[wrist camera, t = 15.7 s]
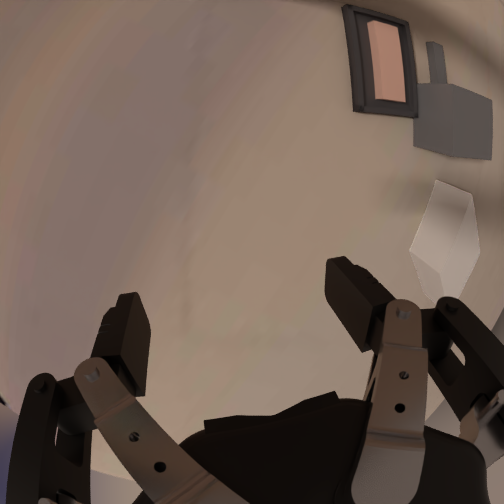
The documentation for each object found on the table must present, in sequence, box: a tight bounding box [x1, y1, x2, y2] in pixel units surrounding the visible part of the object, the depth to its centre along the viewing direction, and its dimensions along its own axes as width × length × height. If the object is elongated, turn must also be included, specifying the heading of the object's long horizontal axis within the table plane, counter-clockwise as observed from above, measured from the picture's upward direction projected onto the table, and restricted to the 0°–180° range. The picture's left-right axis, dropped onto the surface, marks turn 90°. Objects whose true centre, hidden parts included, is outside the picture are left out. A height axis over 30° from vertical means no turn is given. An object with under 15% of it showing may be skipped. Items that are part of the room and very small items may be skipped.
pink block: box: [367, 20, 406, 102], centre depth 33 cm, size 14×5×2 cm, turn 5°
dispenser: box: [413, 42, 493, 160], centre depth 33 cm, size 22×14×10 cm, turn 5°
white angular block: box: [409, 180, 480, 304], centre depth 48 cm, size 14×29×10 cm, turn 11°
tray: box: [341, 4, 418, 118], centre depth 33 cm, size 19×13×2 cm
